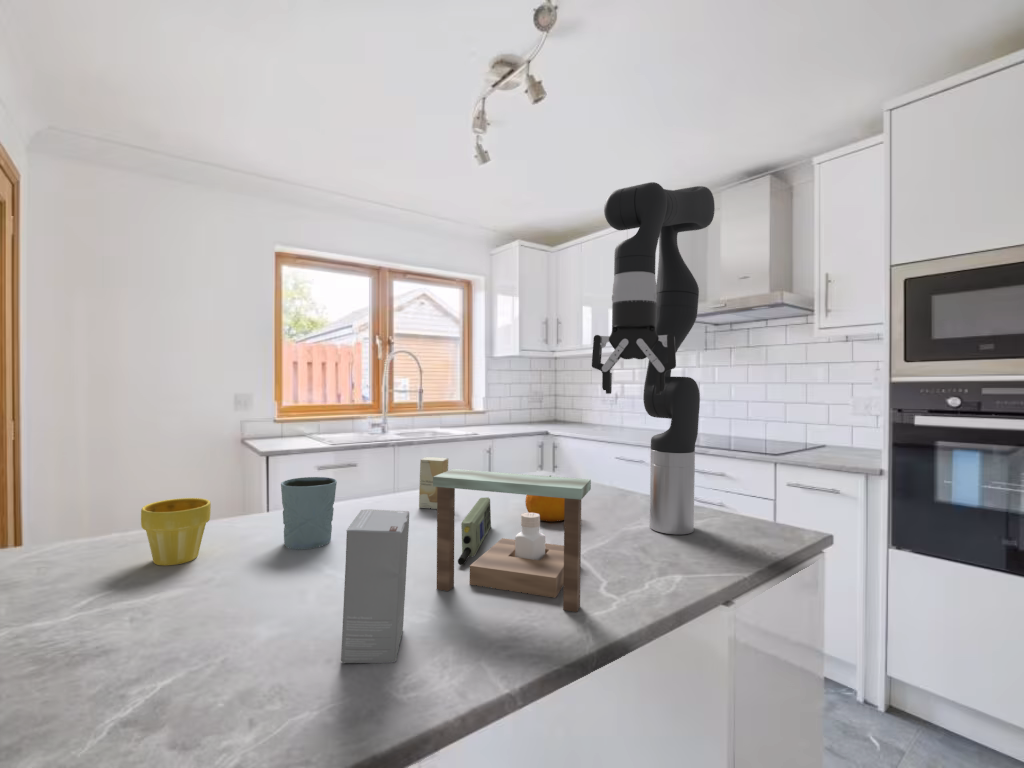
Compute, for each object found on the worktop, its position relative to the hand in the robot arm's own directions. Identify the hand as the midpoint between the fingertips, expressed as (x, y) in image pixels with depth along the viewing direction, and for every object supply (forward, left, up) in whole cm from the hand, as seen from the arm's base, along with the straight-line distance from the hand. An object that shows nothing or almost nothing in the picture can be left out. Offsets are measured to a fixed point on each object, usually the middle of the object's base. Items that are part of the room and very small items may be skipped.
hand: (632, 393), depth 91 cm
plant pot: (+26, -76, -30) cm, 86 cm away
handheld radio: (0, -30, -31) cm, 43 cm away
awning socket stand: (+13, -16, -30) cm, 36 cm away
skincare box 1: (+39, -26, -30) cm, 56 cm away
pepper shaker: (+9, -16, -30) cm, 35 cm away
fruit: (-24, -21, -30) cm, 44 cm away
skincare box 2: (-23, -51, -30) cm, 64 cm away
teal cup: (+10, -61, -30) cm, 69 cm away
